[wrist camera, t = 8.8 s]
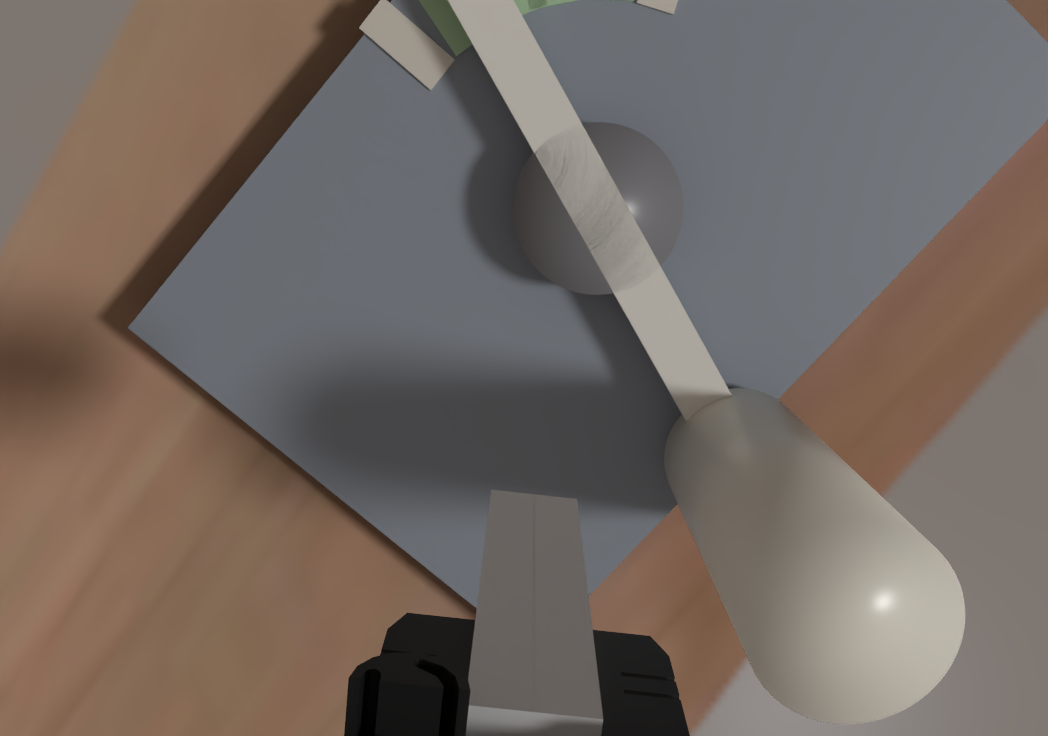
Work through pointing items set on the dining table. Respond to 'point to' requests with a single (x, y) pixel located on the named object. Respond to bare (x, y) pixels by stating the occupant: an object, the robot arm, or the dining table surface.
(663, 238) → the needle
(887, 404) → the dining table surface
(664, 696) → the robot arm
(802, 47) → the dial plate
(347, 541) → the dining table surface
